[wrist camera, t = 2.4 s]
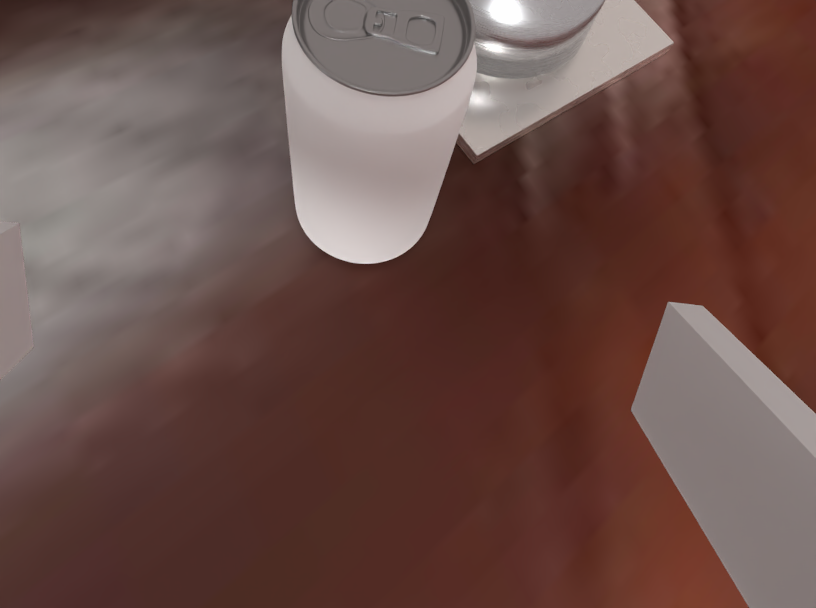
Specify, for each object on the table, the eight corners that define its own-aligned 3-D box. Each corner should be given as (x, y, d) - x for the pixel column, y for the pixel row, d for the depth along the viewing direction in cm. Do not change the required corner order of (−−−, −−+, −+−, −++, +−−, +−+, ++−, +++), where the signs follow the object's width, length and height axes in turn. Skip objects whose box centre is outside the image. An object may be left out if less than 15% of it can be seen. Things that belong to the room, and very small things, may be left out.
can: (309, 135, 32) (301, -83, 20) (438, 161, 32) (499, -40, 21) (281, 253, 29) (254, 81, 18) (420, 279, 30) (478, 126, 18)
